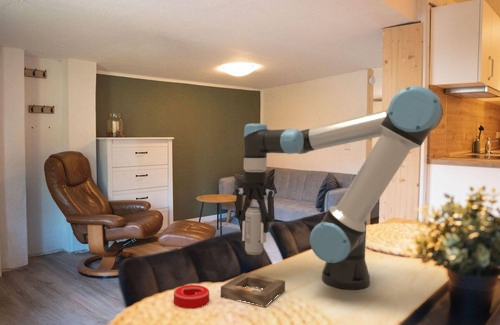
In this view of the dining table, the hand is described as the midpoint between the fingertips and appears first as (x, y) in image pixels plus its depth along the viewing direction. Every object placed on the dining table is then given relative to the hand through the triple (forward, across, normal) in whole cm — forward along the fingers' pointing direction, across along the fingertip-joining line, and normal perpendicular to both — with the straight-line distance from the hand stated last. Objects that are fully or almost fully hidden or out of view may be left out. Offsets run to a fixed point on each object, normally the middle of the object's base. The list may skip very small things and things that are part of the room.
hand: (254, 241), depth 125 cm
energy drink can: (+4, 0, 0) cm, 4 cm away
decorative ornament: (+12, +6, +26) cm, 30 cm away
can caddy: (+12, -6, +13) cm, 19 cm away
